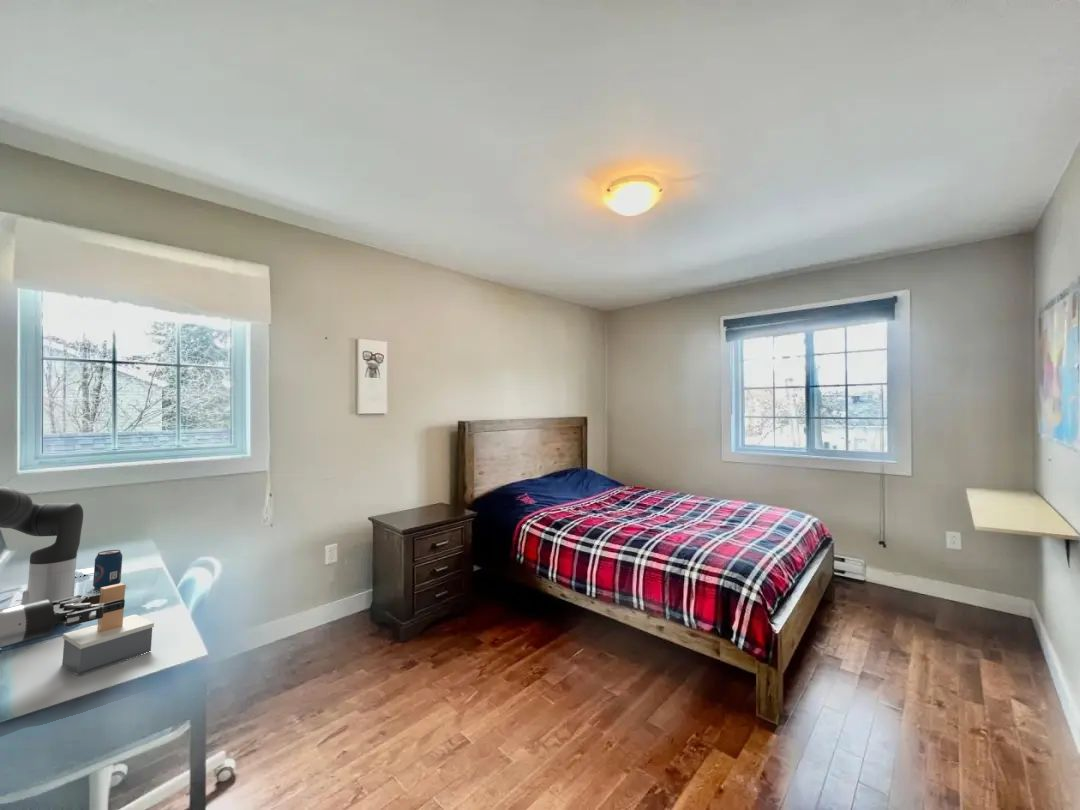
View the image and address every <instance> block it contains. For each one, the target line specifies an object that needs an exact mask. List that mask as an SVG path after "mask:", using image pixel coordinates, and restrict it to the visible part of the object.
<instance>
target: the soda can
mask: <svg viewBox="0 0 1080 810" xmlns="http://www.w3.org/2000/svg"><path fill="white" fill-rule="evenodd" d="M122 567H123V553H122V552H121V549H109V550H104V551H100V552H98V553H97V555H96V557H95V559H94V567H93V568H94V575H93V580H92V581H93V582H92V586H93V588H94V589H95V590H96V589H97V590H96V591H100V588H101V587H106V586H110V585H115V584H119V583H122V582H121V581H122Z"/></svg>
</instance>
